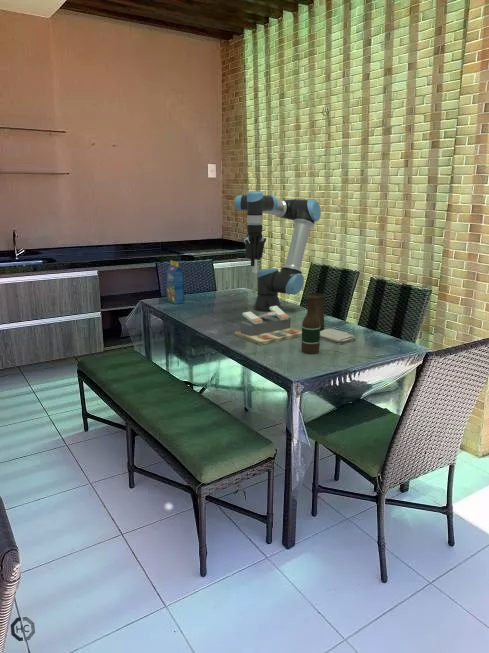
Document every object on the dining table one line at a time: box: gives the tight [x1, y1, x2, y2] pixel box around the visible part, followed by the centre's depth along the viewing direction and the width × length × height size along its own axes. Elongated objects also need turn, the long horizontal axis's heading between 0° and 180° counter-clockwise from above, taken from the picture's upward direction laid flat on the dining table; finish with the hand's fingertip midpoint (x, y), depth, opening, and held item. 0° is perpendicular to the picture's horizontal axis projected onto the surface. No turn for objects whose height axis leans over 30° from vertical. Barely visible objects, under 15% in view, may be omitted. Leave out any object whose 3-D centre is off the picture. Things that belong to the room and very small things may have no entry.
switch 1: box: [242, 311, 263, 324], centre depth 231 cm, size 4×10×2 cm, turn 36°
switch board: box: [234, 325, 302, 346], centre depth 234 cm, size 28×20×2 cm
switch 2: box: [269, 306, 290, 320], centre depth 240 cm, size 4×10×2 cm, turn 36°
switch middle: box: [256, 311, 276, 319], centre depth 235 cm, size 4×10×2 cm, turn 36°
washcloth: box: [320, 328, 357, 346], centre depth 229 cm, size 12×18×3 cm, turn 40°
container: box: [307, 292, 327, 331], centre depth 239 cm, size 9×9×18 cm
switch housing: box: [239, 315, 292, 336], centre depth 237 cm, size 24×8×5 cm, turn 126°
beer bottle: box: [301, 295, 321, 355], centre depth 208 cm, size 8×8×24 cm
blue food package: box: [166, 259, 185, 305], centre depth 301 cm, size 6×12×25 cm, turn 31°
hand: (254, 272), depth 247 cm, fingers closed
